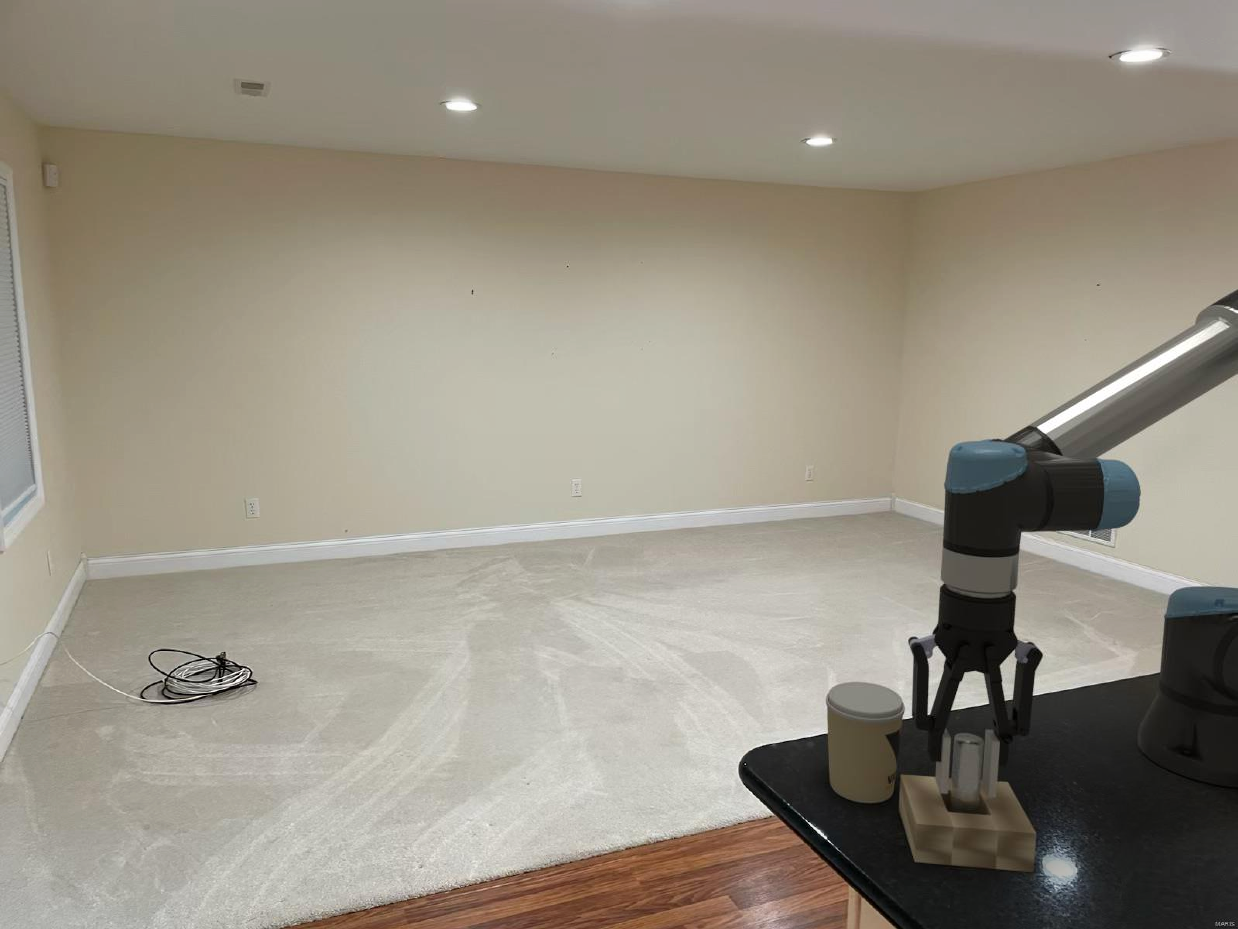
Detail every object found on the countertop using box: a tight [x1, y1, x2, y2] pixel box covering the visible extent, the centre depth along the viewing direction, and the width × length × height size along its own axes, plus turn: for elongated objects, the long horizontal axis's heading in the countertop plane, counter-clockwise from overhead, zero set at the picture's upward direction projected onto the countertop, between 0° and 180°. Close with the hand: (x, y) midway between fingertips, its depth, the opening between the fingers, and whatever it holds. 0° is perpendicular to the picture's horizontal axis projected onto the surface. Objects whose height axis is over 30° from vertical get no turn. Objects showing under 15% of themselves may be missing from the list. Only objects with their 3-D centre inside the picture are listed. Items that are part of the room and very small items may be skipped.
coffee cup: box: [825, 681, 906, 804], centre depth 103 cm, size 9×9×12 cm
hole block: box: [898, 774, 1037, 873], centre depth 93 cm, size 12×10×4 cm
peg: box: [949, 732, 985, 814], centre depth 92 cm, size 3×3×12 cm
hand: (965, 788), depth 92 cm, fingers open, 4 cm apart
